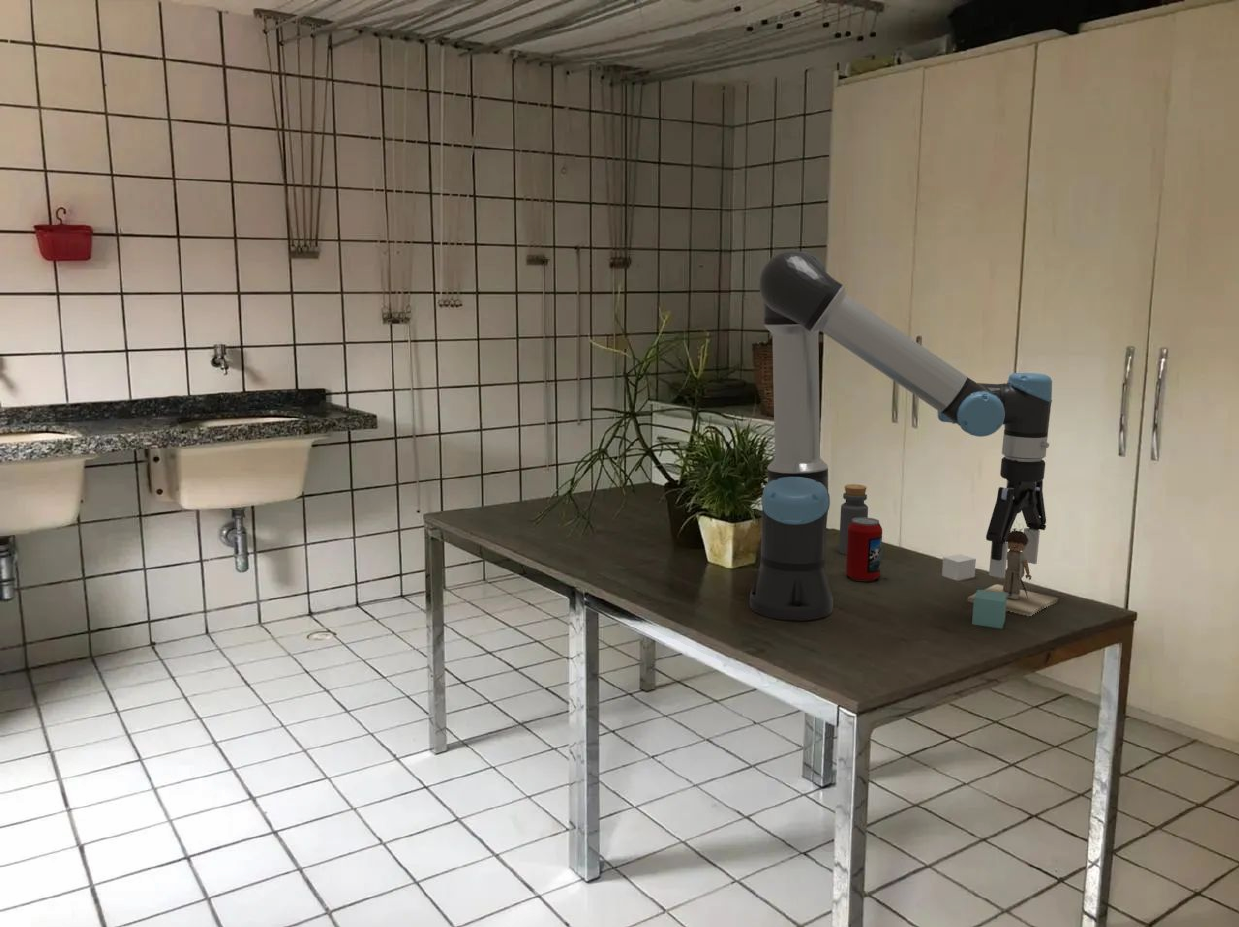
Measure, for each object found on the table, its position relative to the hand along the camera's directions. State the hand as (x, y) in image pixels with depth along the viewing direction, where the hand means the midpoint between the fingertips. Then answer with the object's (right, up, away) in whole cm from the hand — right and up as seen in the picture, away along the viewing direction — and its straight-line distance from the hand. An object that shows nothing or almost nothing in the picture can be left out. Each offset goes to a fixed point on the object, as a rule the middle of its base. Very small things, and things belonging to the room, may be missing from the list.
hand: (1013, 569), depth 187 cm
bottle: (-22, 0, +35) cm, 41 cm away
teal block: (-8, -8, -10) cm, 15 cm away
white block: (-5, -3, +17) cm, 18 cm away
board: (0, -6, +1) cm, 6 cm away
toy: (0, -6, +1) cm, 6 cm away
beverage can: (-24, -4, +16) cm, 29 cm away
